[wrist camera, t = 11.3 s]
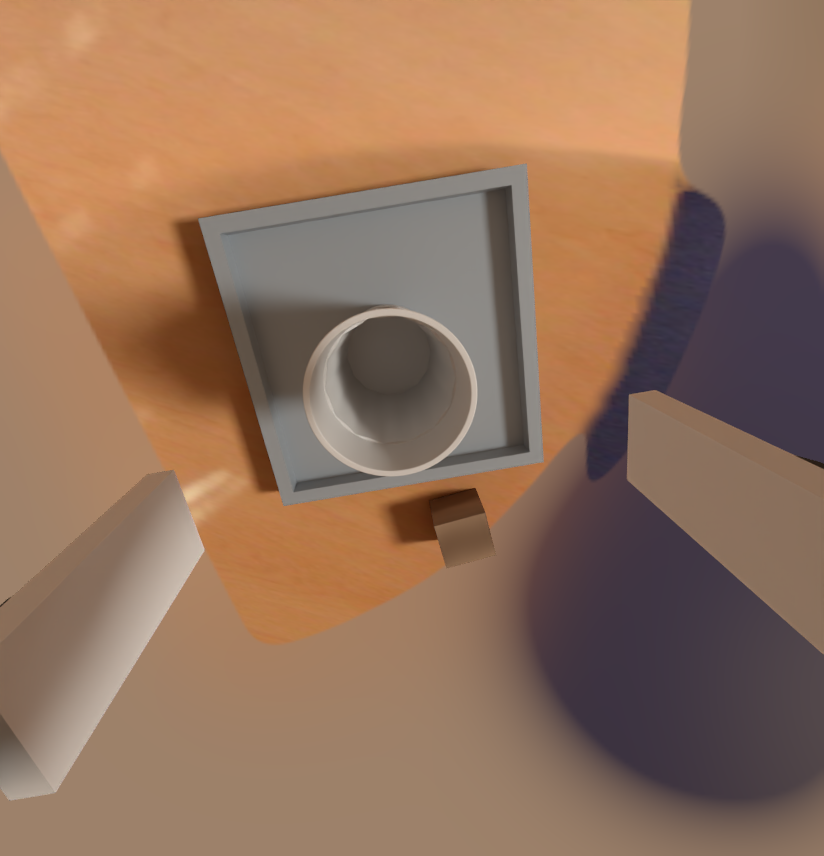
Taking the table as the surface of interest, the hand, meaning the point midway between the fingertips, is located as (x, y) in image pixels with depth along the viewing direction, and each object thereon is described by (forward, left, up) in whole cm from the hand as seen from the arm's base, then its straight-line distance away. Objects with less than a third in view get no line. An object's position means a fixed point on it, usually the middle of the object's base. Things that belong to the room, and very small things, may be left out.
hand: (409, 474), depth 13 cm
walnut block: (+15, +3, -21) cm, 26 cm away
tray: (0, 0, -21) cm, 21 cm away
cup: (0, 0, -20) cm, 20 cm away
